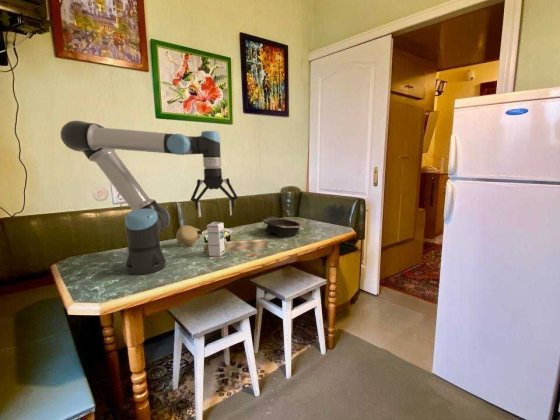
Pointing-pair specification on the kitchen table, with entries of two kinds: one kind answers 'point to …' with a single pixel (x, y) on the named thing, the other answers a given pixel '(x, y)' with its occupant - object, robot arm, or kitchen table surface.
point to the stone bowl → (282, 226)
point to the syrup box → (216, 238)
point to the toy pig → (188, 235)
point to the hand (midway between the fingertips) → (215, 215)
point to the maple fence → (241, 247)
